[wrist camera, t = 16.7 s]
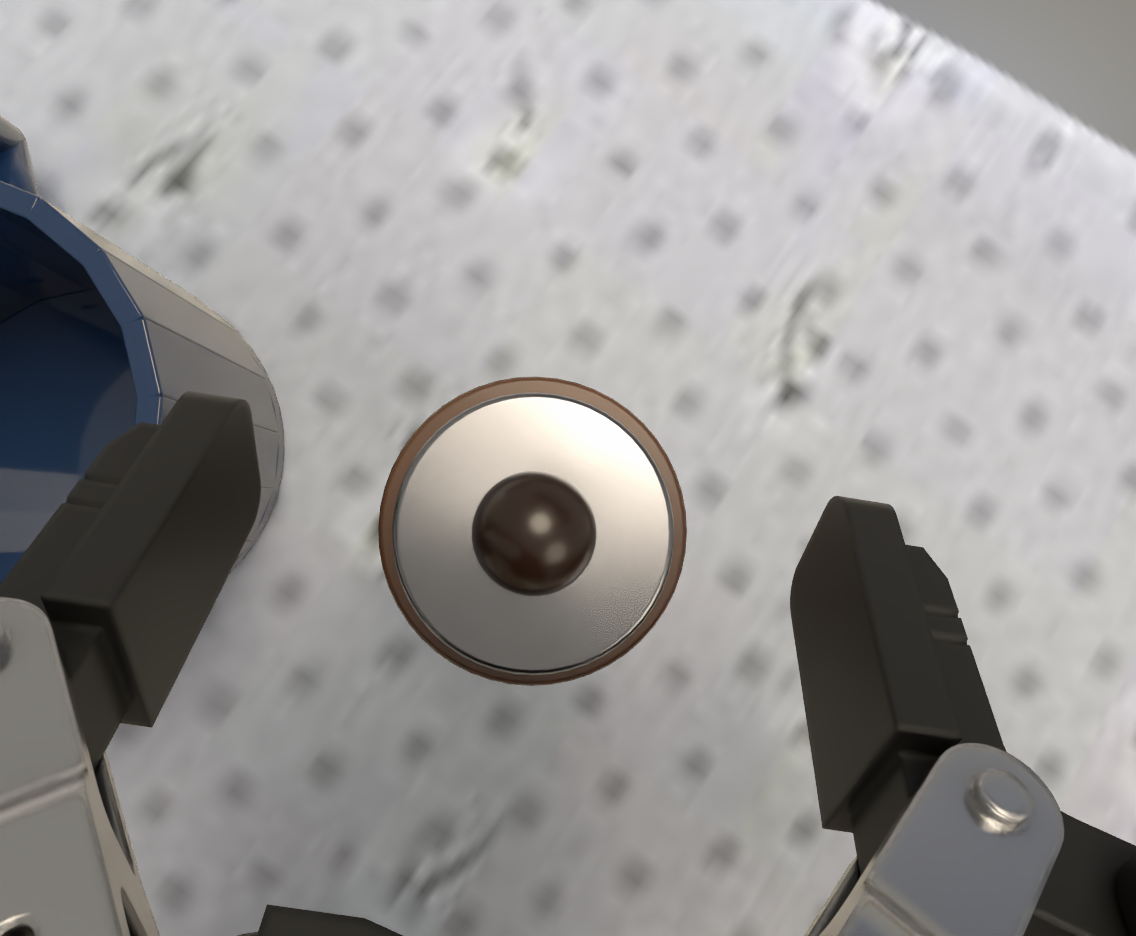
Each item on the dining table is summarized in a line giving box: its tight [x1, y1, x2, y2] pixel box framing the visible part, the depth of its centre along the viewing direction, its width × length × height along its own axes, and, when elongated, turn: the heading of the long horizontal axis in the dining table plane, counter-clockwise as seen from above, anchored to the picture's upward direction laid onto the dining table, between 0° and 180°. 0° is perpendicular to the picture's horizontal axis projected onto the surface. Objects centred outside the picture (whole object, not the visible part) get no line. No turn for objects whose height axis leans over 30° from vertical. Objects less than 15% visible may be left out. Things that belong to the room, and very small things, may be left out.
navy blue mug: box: [0, 116, 284, 584], centre depth 18 cm, size 12×9×8 cm
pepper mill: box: [379, 377, 687, 686], centre depth 15 cm, size 4×4×15 cm
